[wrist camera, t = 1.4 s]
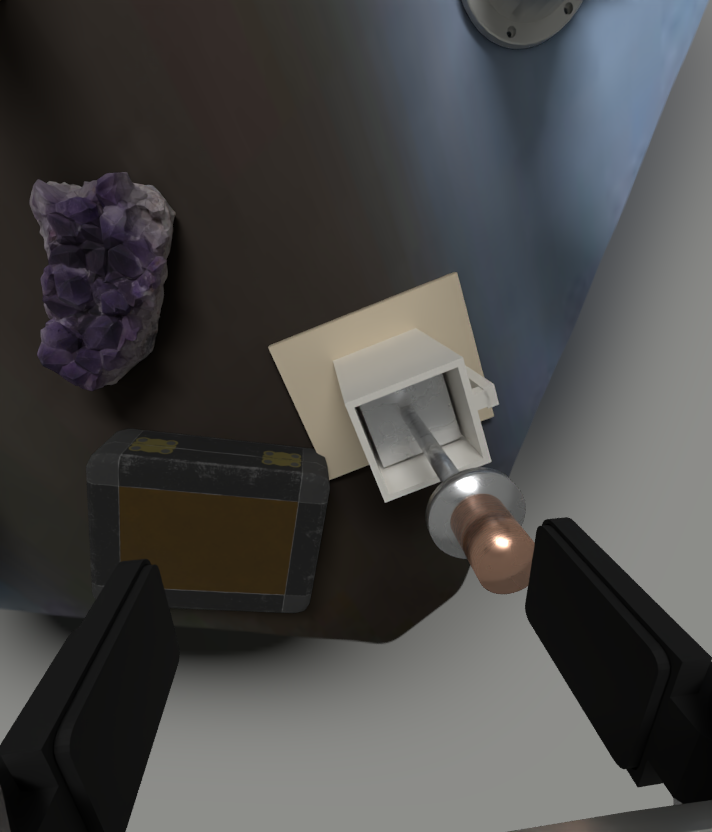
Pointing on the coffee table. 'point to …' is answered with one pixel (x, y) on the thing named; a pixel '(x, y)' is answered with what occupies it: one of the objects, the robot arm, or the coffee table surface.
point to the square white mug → (388, 380)
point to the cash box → (209, 518)
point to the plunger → (455, 486)
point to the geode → (101, 275)
